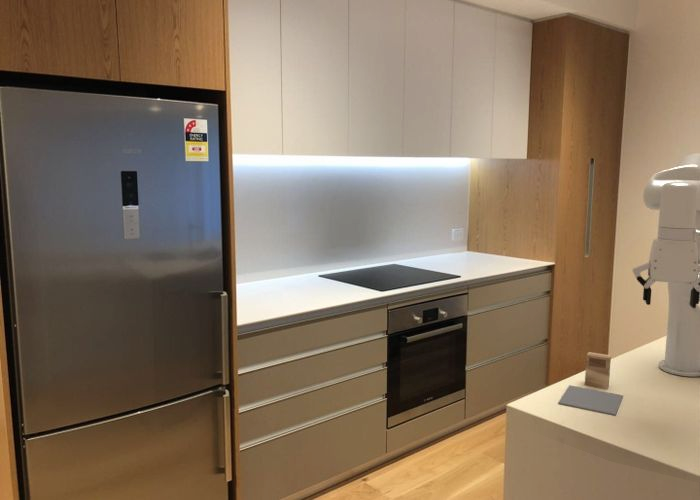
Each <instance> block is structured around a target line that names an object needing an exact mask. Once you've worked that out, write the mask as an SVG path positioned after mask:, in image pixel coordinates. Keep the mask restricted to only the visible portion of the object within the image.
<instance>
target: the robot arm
mask: <svg viewBox="0 0 700 500" xmlns="http://www.w3.org/2000/svg"><path fill="white" fill-rule="evenodd" d="M642 196H643V197H642V198H643V203H644V205H645V207H647V208H648V209H649V210H653V211H659V212H658V215H659V216H658V223H657V224H658V225H657V226H658V227H657V238H654V239H652V243H651V247H650V253H649V258H648V262H646V263H644V264H641V265H638V266H636V267H633V268H632V271H631V272H632V273H633V275H634V276H635V278H636V281H637V282H638V283H639V284H640V285H641V286H642V287H643V293H642V300H643V301H644V302H645V304H646V306H647V305H648V306H649V305H651V302H652V301H651V300H652V288H651V286H652V285H654V283H656V282H661V283H667V291H668V314H667V327H666V337H665V338H666V339H665V351H664V359H663V360H660V361H658V368H659V369H660V370H662V371H664V372H666V373H668V374H671V375H677V376H679V377H680V376H682V377H691V378H693V377H694V378H695V377H700V305H699V302H700V152H699V153H690V154H688V155H685V157H683V158H682V159H681V160H680V161H679V164H678V165H677V166H676V167H672V168H669V169H665V170H661V171H658V172H656V173H654V174H652V175H651V176H650V177H649V179H648V181H647V182H646V185H645V186H644V189H643V195H642ZM643 271H647V276H648V277H647V278H646V279H645V278H643V277H642V274H641V273H642V272H643Z"/></svg>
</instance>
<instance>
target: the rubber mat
mask: <svg viewBox="0 0 700 500" xmlns="http://www.w3.org/2000/svg"><path fill="white" fill-rule="evenodd" d="M623 398H624V394H619V393H612V392H608V391H601V390H597V389H592V388H586V387H582V386H581V387H580V386H575V385H571V384H570V385H568V386H567V389H565V392H564V393H563V394H562V396H561V398H560V399H559V401H558V402H557V403H558V405H563V406H565V407H572V408H577V409H581V410H587V411H591V412H596V413H600V414H606V415H611V416H617V413H618V410H619V408H620V406H621V403H622V401H623Z"/></svg>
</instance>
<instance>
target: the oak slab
mask: <svg viewBox="0 0 700 500" xmlns="http://www.w3.org/2000/svg"><path fill="white" fill-rule="evenodd" d="M585 359H586V361H585V373H584V374H585V375H584V386H589V387H594V388H599V389H602V390H608V388H609V386H610V376H611V361H612V355H610V354H604V353H597V352H590V351H588V352H587V353H586V358H585Z"/></svg>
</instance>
